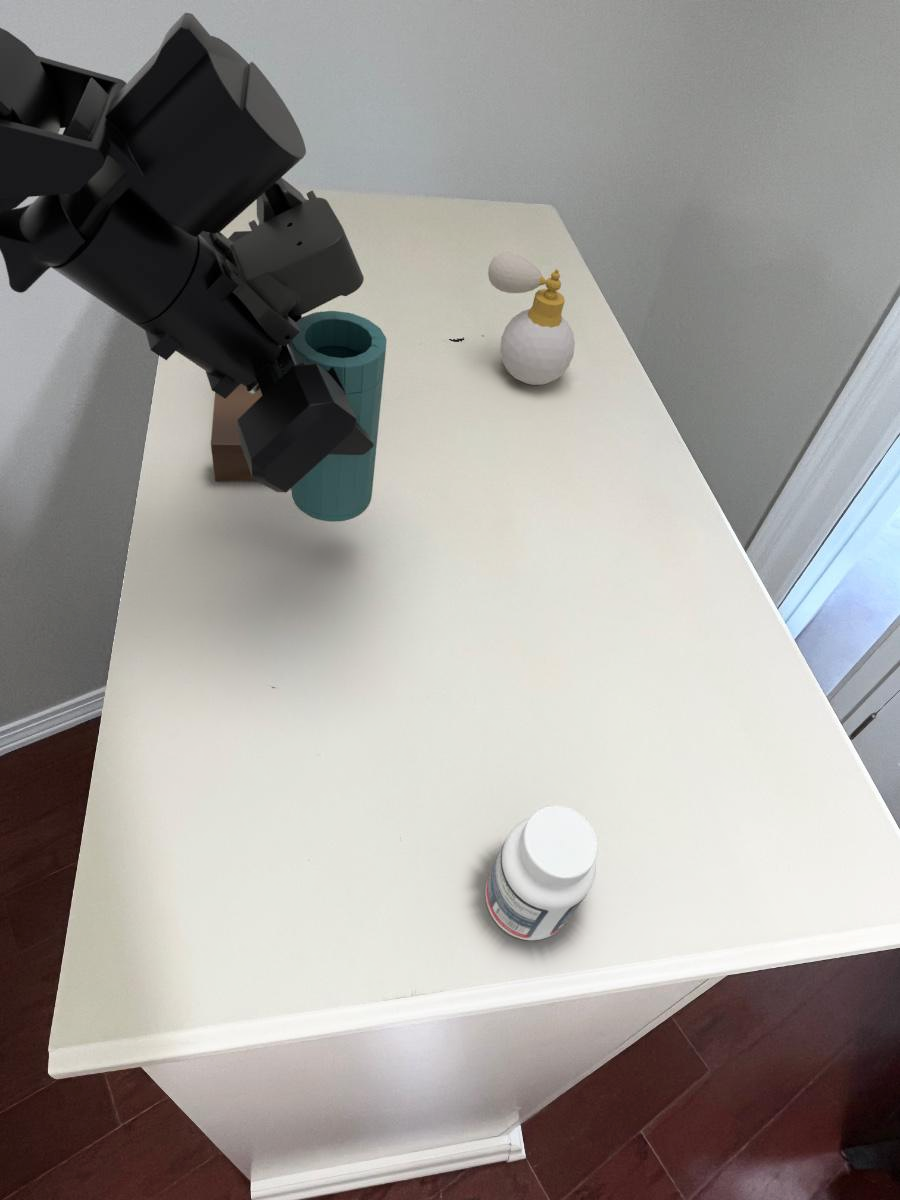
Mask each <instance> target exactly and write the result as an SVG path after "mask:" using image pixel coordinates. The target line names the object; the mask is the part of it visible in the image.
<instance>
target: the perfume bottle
mask: <svg viewBox="0 0 900 1200" xmlns="http://www.w3.org/2000/svg"><path fill="white" fill-rule="evenodd" d="M559 272H560V270H559V269H558V268H554V271H553V272H551V274H550V277H549V278H547V279H546V278H544V276H543V274H542V273H541V271H540V269H539V268H538V267H537V266H536V265H535V264H534V263H533V262H532V261H530V260H529V259H527V258H526V257H525V256H522V255H520V254H518V253H514V252H501V253H498V254H497V255H495V256H494V257H493V258H492V260H490V263H489V265H488V271H487V275H488V276H487V277H488V280H489V282H490V284H491V285H492V286H493V287H494V288H495V289H496V290H499V292H503V293H506V294H507V293H508V294H522V293H524V294H525V293H528V292H532V291H533V290H536V289H537V288H540V287H541V286H543V285H545V287H546V288H541V289H538V290H537V291H536V292H535V293H534V298H533V302H532V306H531V307H530V308H527V309H525V310H522V311H521V312H519V313H517V314H516V315H515V316H513V317H512V318H511V319H510V320H509V322H508V323H507V325H506V326H505V327H504V330H503V333H502V335H501V338H500V347H499V348H500V349H499V351H500V357H501V360H502V363H503V365H504V368H506V369H505V370H506V371H507V372H508V373H509V374H510V375H511V376H512V377H513V378H514V379H516V380H518V381H520V382H522V383H524V384H527V385H532V386H539V385H541V386H542V385H546V384H549V383H551V382H554V381H555V380H557V379H559V378H560V377H562V375H563V374H564V373H565V372H566V370H568V368H569V367H570V366H571V365H570V364H571V362H572V360H573V358H574V354H575V346H576V341H575V337H574V332H573V330H572V328H571V326H570V324H569V322H568V321H567V320H566V319H565V318H564V317H563V316H562V313H563V309H564V305H565V296H564V295H563V294H562V293H560V292H559V290H560V289H561V287H562V282H561V281H560V278H561V274H560V273H559Z"/></svg>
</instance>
